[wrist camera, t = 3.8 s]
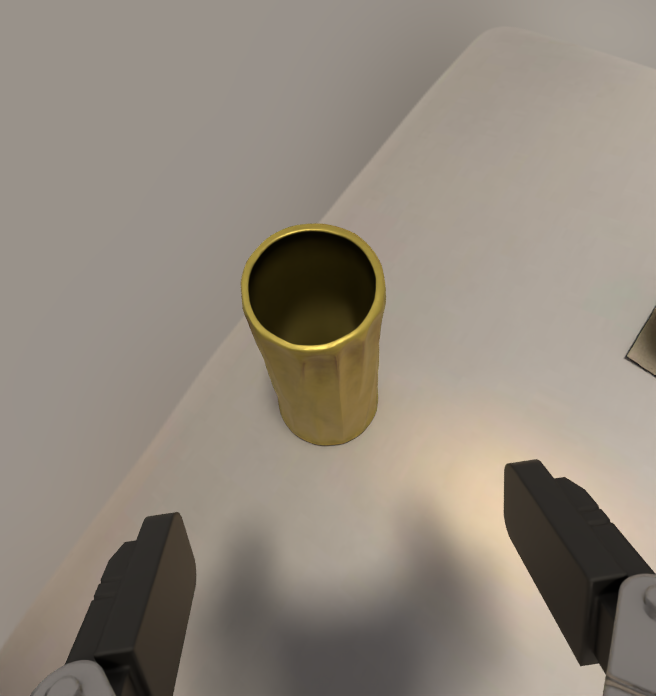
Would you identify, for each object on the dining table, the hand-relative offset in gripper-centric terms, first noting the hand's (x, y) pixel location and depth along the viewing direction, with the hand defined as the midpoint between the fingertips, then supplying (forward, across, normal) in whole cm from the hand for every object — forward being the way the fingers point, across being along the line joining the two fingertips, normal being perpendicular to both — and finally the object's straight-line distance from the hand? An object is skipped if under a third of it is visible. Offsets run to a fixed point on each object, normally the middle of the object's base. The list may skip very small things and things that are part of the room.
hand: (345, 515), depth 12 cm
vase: (+18, 0, +6) cm, 19 cm away
